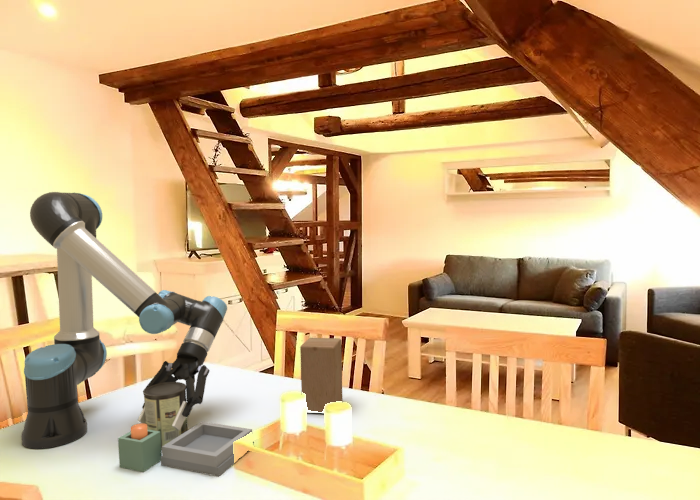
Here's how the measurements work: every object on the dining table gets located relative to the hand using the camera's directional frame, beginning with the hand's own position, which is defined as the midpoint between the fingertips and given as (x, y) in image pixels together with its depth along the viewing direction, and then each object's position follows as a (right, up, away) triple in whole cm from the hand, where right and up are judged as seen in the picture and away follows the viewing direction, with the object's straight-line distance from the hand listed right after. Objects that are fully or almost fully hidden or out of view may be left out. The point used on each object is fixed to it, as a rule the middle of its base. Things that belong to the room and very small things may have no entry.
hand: (158, 425), depth 131 cm
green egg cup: (-1, -6, -8) cm, 10 cm away
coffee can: (+1, -5, +3) cm, 6 cm away
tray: (+14, -6, -5) cm, 16 cm away
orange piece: (-1, -2, -9) cm, 9 cm away
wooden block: (+40, -3, +24) cm, 47 cm away
